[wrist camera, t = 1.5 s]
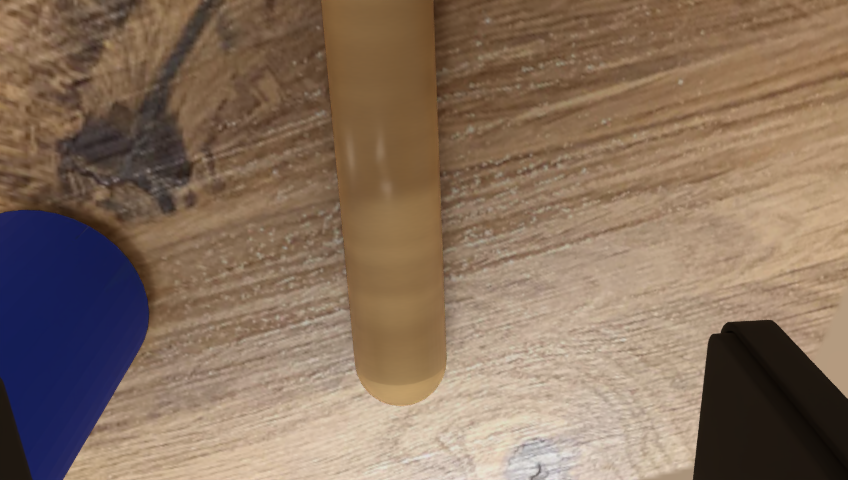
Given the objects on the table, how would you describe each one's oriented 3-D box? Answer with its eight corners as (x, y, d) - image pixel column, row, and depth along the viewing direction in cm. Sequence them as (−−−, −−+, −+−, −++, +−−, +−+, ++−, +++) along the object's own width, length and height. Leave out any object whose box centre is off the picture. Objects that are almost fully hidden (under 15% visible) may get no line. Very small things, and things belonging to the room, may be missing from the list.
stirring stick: (317, -98, 17) (305, -97, 15) (427, -103, 17) (431, -103, 15) (360, 374, 22) (356, 427, 20) (445, 370, 22) (450, 422, 20)
